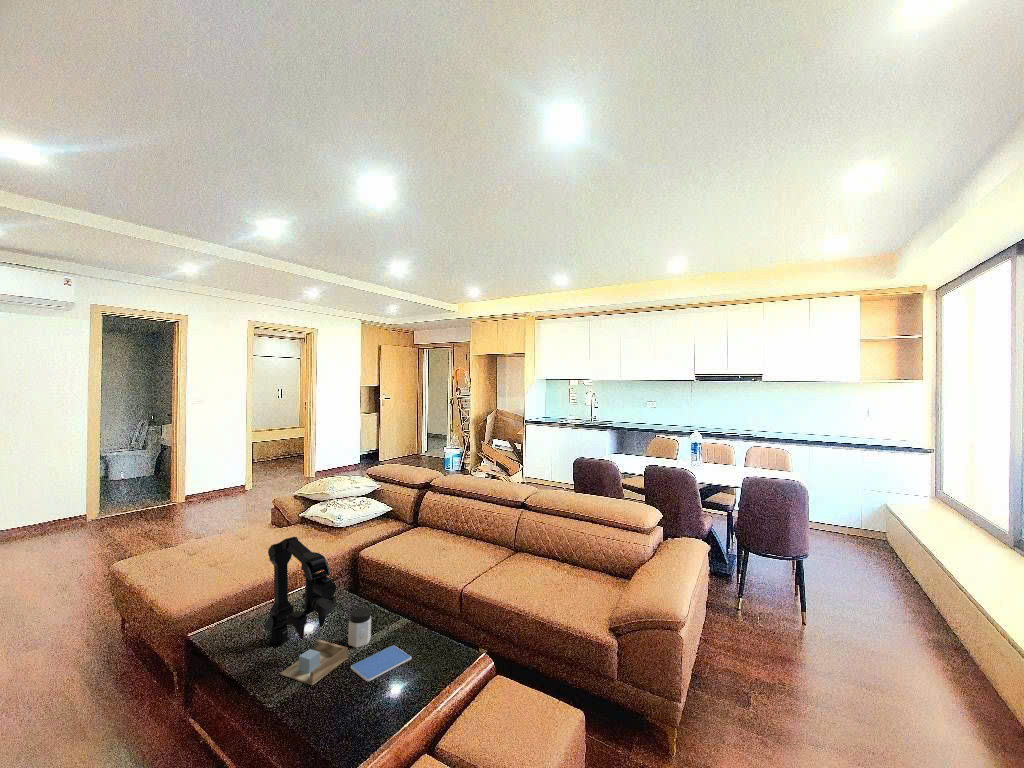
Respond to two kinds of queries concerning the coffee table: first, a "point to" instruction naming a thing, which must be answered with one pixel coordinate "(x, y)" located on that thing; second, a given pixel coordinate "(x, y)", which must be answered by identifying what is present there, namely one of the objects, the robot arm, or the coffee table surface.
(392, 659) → the tablet computer
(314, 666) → the cube
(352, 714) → the coffee table surface
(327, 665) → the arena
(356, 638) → the jar
